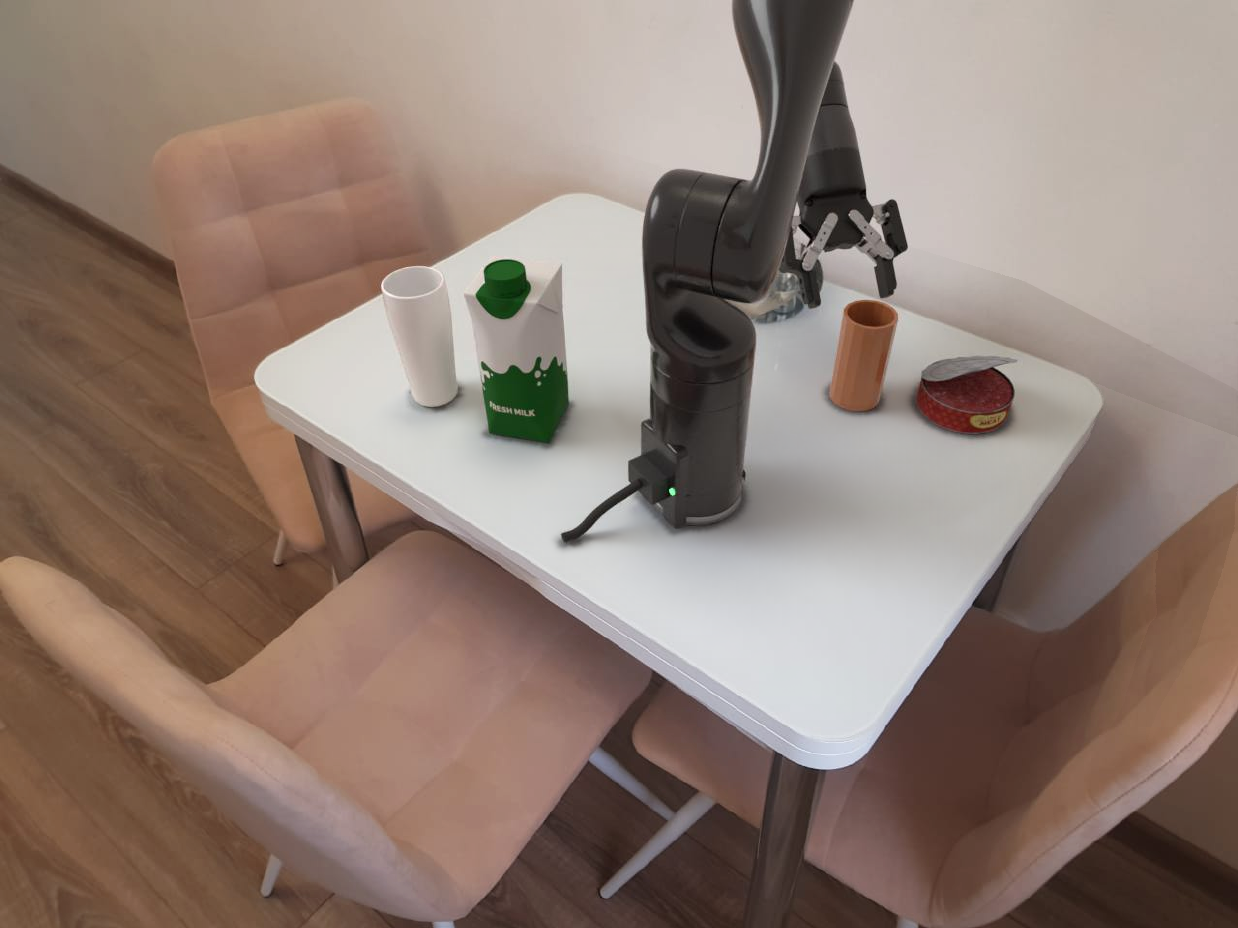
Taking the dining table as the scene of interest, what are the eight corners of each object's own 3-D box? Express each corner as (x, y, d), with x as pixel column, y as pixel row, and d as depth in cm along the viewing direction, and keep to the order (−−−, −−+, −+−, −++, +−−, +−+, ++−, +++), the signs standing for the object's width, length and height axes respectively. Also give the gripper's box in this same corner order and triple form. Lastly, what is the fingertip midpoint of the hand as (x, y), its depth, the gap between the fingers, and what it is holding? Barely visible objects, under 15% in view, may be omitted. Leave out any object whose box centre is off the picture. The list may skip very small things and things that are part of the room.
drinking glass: (402, 383, 104) (376, 271, 94) (459, 372, 105) (440, 260, 95) (410, 418, 99) (383, 303, 89) (469, 406, 101) (450, 291, 91)
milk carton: (478, 437, 97) (451, 276, 83) (508, 388, 103) (487, 231, 90) (554, 450, 95) (539, 287, 81) (579, 400, 101) (569, 241, 88)
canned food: (923, 456, 100) (895, 392, 94) (932, 396, 106) (906, 332, 100) (1031, 441, 93) (1008, 372, 88) (1034, 378, 99) (1012, 310, 94)
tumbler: (853, 417, 98) (870, 334, 90) (818, 392, 101) (832, 310, 94) (889, 400, 100) (909, 317, 93) (854, 375, 104) (870, 294, 96)
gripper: (774, 152, 93) (802, 302, 92) (899, 137, 95) (927, 284, 95) (753, 179, 100) (779, 318, 100) (869, 164, 103) (895, 301, 102)
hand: (851, 301), depth 97 cm, fingers open, 8 cm apart
